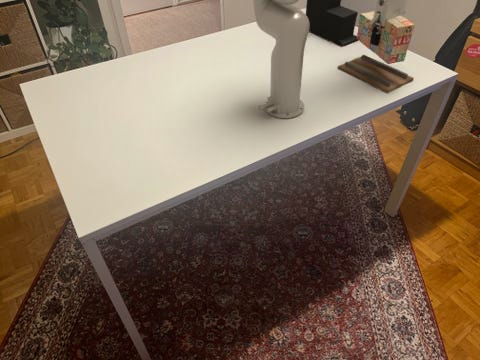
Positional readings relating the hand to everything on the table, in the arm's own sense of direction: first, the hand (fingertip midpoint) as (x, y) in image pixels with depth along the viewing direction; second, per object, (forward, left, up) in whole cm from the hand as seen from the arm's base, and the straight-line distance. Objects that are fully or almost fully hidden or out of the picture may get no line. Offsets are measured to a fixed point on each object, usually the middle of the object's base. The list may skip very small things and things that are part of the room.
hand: (382, 40), depth 126 cm
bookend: (+13, +35, -13) cm, 39 cm away
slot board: (0, 0, -12) cm, 12 cm away
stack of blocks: (0, +1, -4) cm, 4 cm away
